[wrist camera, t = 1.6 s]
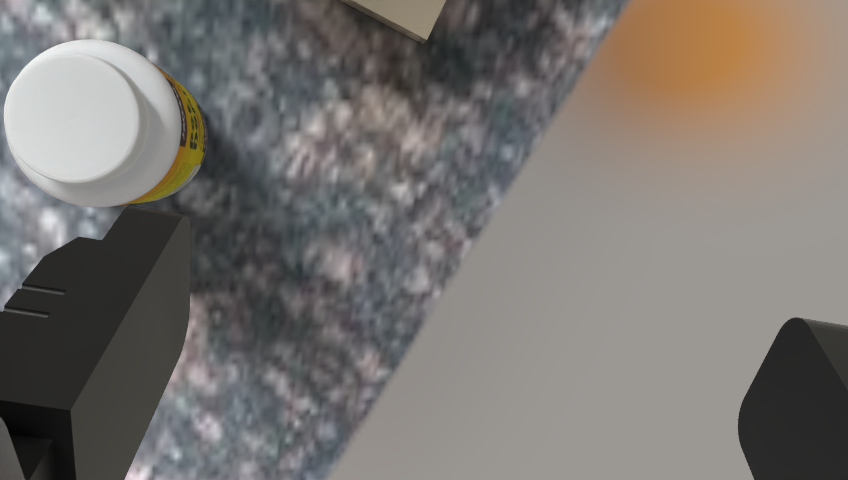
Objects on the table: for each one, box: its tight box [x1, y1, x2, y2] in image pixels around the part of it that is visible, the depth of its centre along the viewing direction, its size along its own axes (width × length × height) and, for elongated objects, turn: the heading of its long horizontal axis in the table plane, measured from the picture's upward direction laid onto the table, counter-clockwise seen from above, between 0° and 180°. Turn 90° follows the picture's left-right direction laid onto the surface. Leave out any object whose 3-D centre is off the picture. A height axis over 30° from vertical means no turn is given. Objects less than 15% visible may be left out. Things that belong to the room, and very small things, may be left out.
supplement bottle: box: [4, 39, 208, 207], centre depth 29 cm, size 6×6×10 cm
